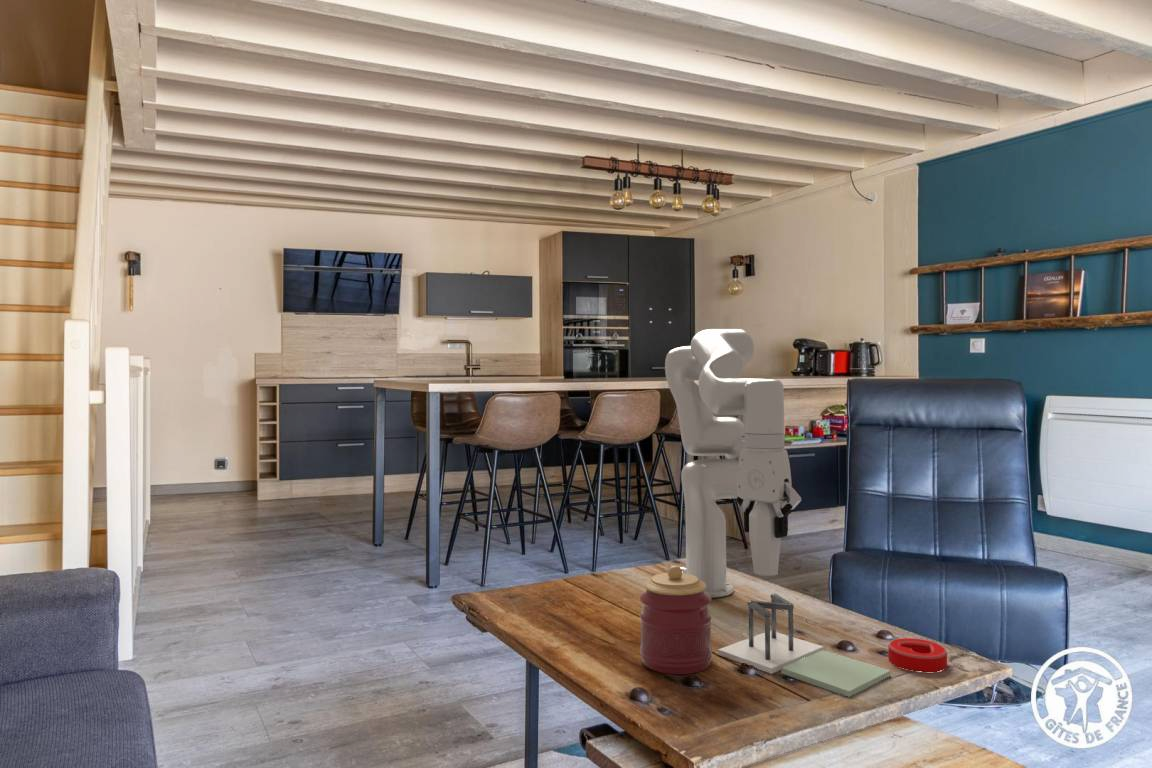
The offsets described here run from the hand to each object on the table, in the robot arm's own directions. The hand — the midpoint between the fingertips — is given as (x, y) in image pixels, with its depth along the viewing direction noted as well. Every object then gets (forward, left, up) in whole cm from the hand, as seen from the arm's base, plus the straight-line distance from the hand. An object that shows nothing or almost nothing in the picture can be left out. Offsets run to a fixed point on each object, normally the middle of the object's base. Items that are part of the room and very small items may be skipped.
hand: (765, 533), depth 149 cm
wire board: (+4, -5, -21) cm, 22 cm away
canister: (-4, -21, -21) cm, 30 cm away
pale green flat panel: (+18, -5, -21) cm, 28 cm away
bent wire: (+4, -5, -21) cm, 22 cm away
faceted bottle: (0, 0, -8) cm, 8 cm away
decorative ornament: (+24, +11, -22) cm, 35 cm away
